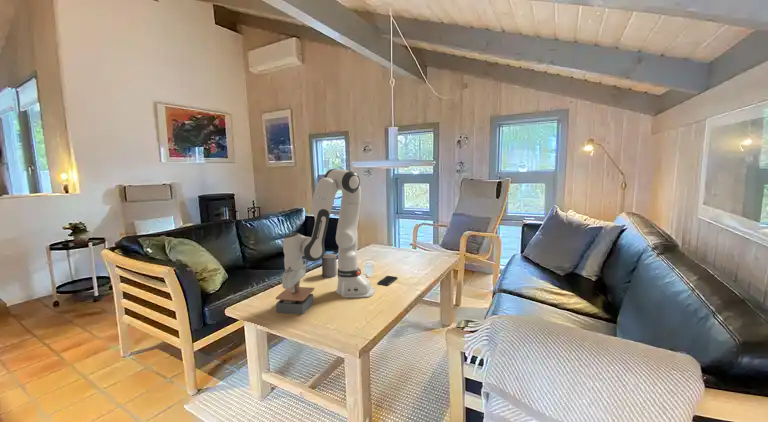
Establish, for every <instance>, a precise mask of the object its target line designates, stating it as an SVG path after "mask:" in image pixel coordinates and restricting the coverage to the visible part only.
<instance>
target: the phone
mask: <svg viewBox="0 0 768 422" xmlns="http://www.w3.org/2000/svg"><path fill="white" fill-rule="evenodd" d="M397 280H398V277H397V276H393V275H386V276H384V277H383V278H382V279H380V280H379V281H378V282H377V283H376V284H377V285H379V286H385V287H388V286H390V285H392V284H393V283H394V282H395V281H397Z"/></svg>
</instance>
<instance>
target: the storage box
mask: <svg viewBox="0 0 768 422" xmlns="http://www.w3.org/2000/svg"><path fill="white" fill-rule="evenodd" d="M307 297H308V298H307V299H306V300H305V301H304V302H303V303H302V304H299V301H296V303H295V304H290V303H283V302H284V301H285V300H278V301H277V302H276V303H275V305H276V306H275V307H276V313H277V314H290V315H291V314H292V315H304V314H305V313H306V312H307V311H308V309H310V307H311V306H312V305H314V302H315V301H314V294H313V293H310V294H309V295H308V296H307ZM286 301H289V300H286Z"/></svg>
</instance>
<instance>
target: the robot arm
mask: <svg viewBox="0 0 768 422" xmlns="http://www.w3.org/2000/svg"><path fill="white" fill-rule="evenodd" d="M360 180H361V179H360V176H359V175H358V173H356V172H354V171H352V170H351V171H350V170H347V169H344V168H343V169H341V168H340V169H339V168H330V169H329V170H327V171H326V173H325V175H324V176H323V177H322V178H320V179H319V181H318V182H317V185H316V187H315V189H314V192H313V195H312V198H311V205H310V209H311V212H312V215H313V217H314V226H313V229H312V234H311V236H305V235H303V234H301V233H299V232H292V233H291V232H290V233H288V234H286V235H285V236H284V237H283V241H282V249H283V250H282V251H283V254H284V259H283V261H284V264H283V265H284V269H285V270H284V272H283V274H282V277H281V278H282V279H281V281H282V282H281V284H282V285H281V286H282V288H283V289H284V290H285V289H290V288H291V292H292V293H294V292H295V291H296V288H294V286H295V284H299V285H300V284H301V280H302V279H303V278H304V277H306V273H307V271H306V270H307V266H306V264H307V261H309V262H312V263H314V262H315V263H316V262H318V261H321V260H322V257H323V256H324V254H326V253H325V251H326V249H325V239H326V236H327V235H326V234H327V231H328V225H329V220H330V216H331V212H332V209H333V206H334V203H335V200H336V195H337V192H339V191H341V199H340V209H339V215H338V221H337V226H336V234H335V242H336V245H337V246H338V250H337V251H338V252H337V264H338V265H337V275H336V276H337V286H336V290H335V291H336V294H338V295H340V296H341V297H343V298H351V299H352V298H356V299H357V298H370V297H372V296H374V294H375V291H376V289H375V287H374V286H372V284H371V281H370V280H369V278H367V277H366V276H364V275H363V274H362V272H361V271H362V268H359V267H358V243H359V241H358V238H359V237H358V235H359V233H358V232H359V231H358V225H359V219H360V211H361V205H362V187H361V186H360V185H361V181H360ZM303 257H305V259H304V258H303Z"/></svg>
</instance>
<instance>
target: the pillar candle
mask: <svg viewBox="0 0 768 422" xmlns="http://www.w3.org/2000/svg"><path fill="white" fill-rule="evenodd" d="M337 264H338V260H337V254H335V253H324V256H323V257H322V258H321V276H322V277H323V278H326V279H329V278H335V277H336V276H338V275H337V271H338V265H337Z"/></svg>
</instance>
